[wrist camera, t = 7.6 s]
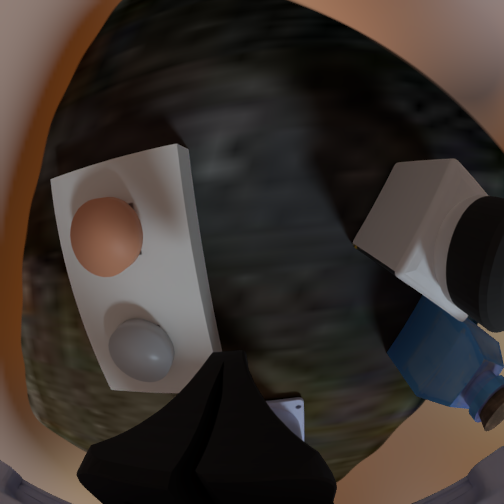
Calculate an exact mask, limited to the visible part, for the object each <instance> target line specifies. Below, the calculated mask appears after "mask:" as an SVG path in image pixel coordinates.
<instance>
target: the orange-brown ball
mask: <svg viewBox="0 0 504 504" xmlns="http://www.w3.org/2000/svg"><path fill="white" fill-rule="evenodd" d="M70 239H71V245H72V249H73V251H74V254H75V256H76V258H77V259H78V261H79V262H80V264H81V265H82V266H83V267H84V268H85V269H86V270H88V271H89V272H90V273H92V274H94V275H97V276H100V277H112V276H115V275H117V274H119V273H121V272H122V271H124V270H125V269H126V268H128V267H129V266H130V265H132V264H133V263H134V262H135V260H136V259H137V258H138V256H139V254H140V251H141V248H142V243H143V231H142V226H141V222H140V220H139V218H138V216H137V214H136V212H135V211H134V209H133V208H132V207H131V206H130V205H129V204H128V203H126V202H125V201H123V200H121V199H119V198H115V197H103V198H97V199H92V200H89V201H87V202H85V203H84V204H83V205H82V206H81V207H80V208H79V209H78V210H77V212H76V213H75V215H74V217H73V220H72V223H71V229H70Z"/></svg>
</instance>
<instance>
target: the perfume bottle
mask: <svg viewBox="0 0 504 504" xmlns="http://www.w3.org/2000/svg"><path fill="white" fill-rule="evenodd" d="M387 354H388V356H389V357H390V358H391V360H392V361H393V363H394V364H395V365H396V367H397V368H398V370H399V371H400V373H401V374H402V376H403V377H404V378H405V380H406V381H407V383H408V384H409V386H410V387H411V389H412V390H413V392H414V393H415V395H416V396H418V397H421V398H424V399H427V400H430V401H433V402H436V403H439V404H442V405H445V406H449V407H457V408H467V409H469V414H470V415H471V416H472V418H473V419H474V420H475V422H482V424H483V427H484V430H485V431H489V430H491V429H493V428H495V427H496V426H497V425H498V424H500V423H501V422H502V421H503V420H504V377H503V376H502V375H500V376H499V374H500V373H501V371H502V369H503V368H504V365H503V360H502V355H501V350H500V346H499V342H497V341H496V340H495V339H494V338H492V337H491V336H489V334H487V333H486V332H485V331H483V330H482V329H481V328H480V327H478V326H477V325H476V324H474V323H473V322H472V321H471V320H469V319H468V318H466V320H465V321H463V322H461V321H458V320H457V319H455V318H454V317H453V316H451V315H450V314H449V313H447V312H446V311H445V310H443V309H442V308H440V307H439V306H438V305H436V304H435V303H433V302H432V301H431V300H429V299H428V298H426V297H425V296H424V295H422V297H421V298H420V300H419V302H418V304H417V305H416V307H415V309H414V311H413V312H412V314H411V316H410V317H409V319H408V321H407V322H406V324H405V325H404V327H403V329H402V330H401V332H400V333H399V335H398V336H397V338H396V340H395V341H394V343H393V344H392V346H391V347H390V348H389V350H388V351H387Z"/></svg>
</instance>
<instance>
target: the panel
mask: <svg viewBox="0 0 504 504" xmlns="http://www.w3.org/2000/svg"><path fill="white" fill-rule="evenodd" d="M51 188H52V196H53V203H54V210H55V216H56V222H57V228H58V233H59V238H60V243H61V248H62V252H63V256H64V261H65V265H66V269H67V272H68V276H69V280H70V283H71V287H72V290H73V294H74V297H75V300H76V303H77V306H78V310H79V313H80V315H81V318H82V321H83V324H84V327H85V330H86V332H87V335H88V338H89V340H90V343H91V345H92V348H93V350H94V353H95V355H96V357H97V360H98V362H99V364H100V367H101V369H102V371H103V373H104V375H105V377H106V380H107V382H108V384H109V386H110V388H111V390H121V391H134V392H152V393H179V392H180V391H181V390H182V389H183V388H184V387H185V386H186V385H187V384H188V383H189V382H190V380H191V379H192V378H193V377H194V376H195V374H196V373H197V372H198V371H199V369H200V368H201V367H202V365H203V364H204V363H205V361H206V360H207V359H208V357H209V356H210V355H211V354H212V353H213V352H222V348H221V344H220V339H219V334H218V329H217V324H216V319H215V314H214V309H213V304H212V299H211V294H210V288H209V283H208V277H207V271H206V266H205V260H204V254H203V248H202V242H201V236H200V229H199V223H198V216H197V210H196V203H195V196H194V189H193V181H192V174H191V166H190V158H189V149H187V148H185V147H183V146H181V145H179V144H172V145H167V146H162V147H158V148H154V149H149V150H145V151H141V152H137V153H133V154H129V155H125V156H122V157H118V158H114V159H111V160H107V161H104V162H101V163H97V164H94V165H91V166H88V167H84V168H81V169H78V170H75V171H72V172H69V173H67V174H64V175H61V176H58V177H55V178H53V179H51ZM103 197H115V198H119V199H121V200H123V201H125V202H126V203H128V204H129V205H130V206H131V207H132V208H133V209H134V211H135V212H136V214H137V216H138V218H139V220H140V222H141V226H142V231H143V243H142V248H141V251H140V254H139V256H138V258H137V259H136V260H135V262H134V263H133V264H132V265H130V266H129V267H128V268H126V269H125V270H124V271H122V272H121V273H119V274H117V275H115V276H112V277H100V276H97V275H94V274H92V273H90V272H89V271H88V270H86V269H85V268H84V267H83V266H82V265H81V264H80V262H79V261H78V259H77V258H76V256H75V254H74V251H73V249H72V245H71V239H70V229H71V223H72V220H73V217H74V215H75V213H76V212H77V210H78V209H79V208H80V207H81V206H82V205H83V204H84V203H85V202H87V201H89V200H92V199H97V198H103ZM134 318H138V319H144V320H147V321H150V322H152V323H154V324H156V325H160V328H161V329H163V330H164V331H165V332H166V334H167V335H168V336H169V338H170V339H171V341H172V343H173V346H174V351H175V355H174V360H173V362H172V365H171V367H170V370H169V372H168V374H167V375H166V376H165V377H164V378H163V379H161V380H159V381H155V382H143V381H139V380H136V379H133V378H131V377H130V376H128V375H126V374H125V373H124V372H122V371H121V370H120V369H119V368H118V367H117V366H116V364H115V363H114V361H113V360H112V358H111V355H110V353H109V346H108V345H109V339H110V337H111V335H112V334H113V332H114V331H115V330H116V329H117V328H118V326H119V325H120V324H121V323H123V322H124V321H126V320H129V319H134Z"/></svg>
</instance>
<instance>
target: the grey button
mask: <svg viewBox="0 0 504 504" xmlns="http://www.w3.org/2000/svg"><path fill="white" fill-rule="evenodd" d="M108 346H109V353H110V355H111V358H112V360H113V361H114V363H115V364H116V366H117V367H118V368H119V369H120V370H121V371H122V372H124V373H125V374H126V375H128V376H130V377H131V378H133V379H136V380H139V381H143V382H155V381H159V380H161V379H163V378H164V377H165V376H166V375H167V374H168V372H169V370H170V367H171V365H172V362H173V360H174V355H175V351H174V346H173V343H172V341H171V339H170V338H169V336H168V335H167V334H166V332H165V331H164V330H163V329H161V328H160V325H156V324H154V323H152V322H150V321H147V320H144V319H138V318H134V319H129V320H126V321H124V322H123V323H121V324H120V325H119V326H118V328H117V329H116V330H115V331H114V332H113V334H112V335H111V337H110V339H109V345H108Z"/></svg>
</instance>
